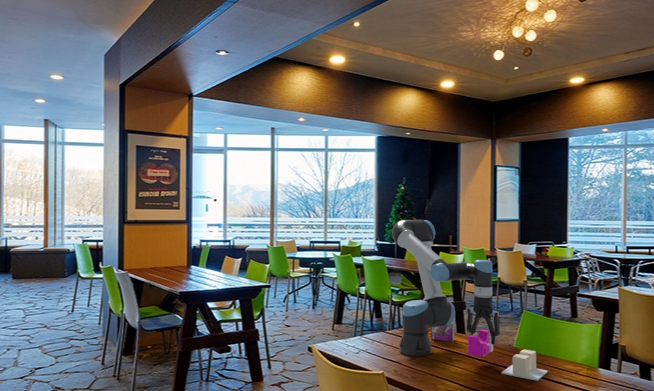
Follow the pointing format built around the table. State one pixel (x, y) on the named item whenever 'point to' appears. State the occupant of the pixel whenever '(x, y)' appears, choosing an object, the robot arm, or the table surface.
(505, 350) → the table surface
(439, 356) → the table surface
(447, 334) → the candy bar box
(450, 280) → the robot arm
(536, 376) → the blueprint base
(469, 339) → the toy block
